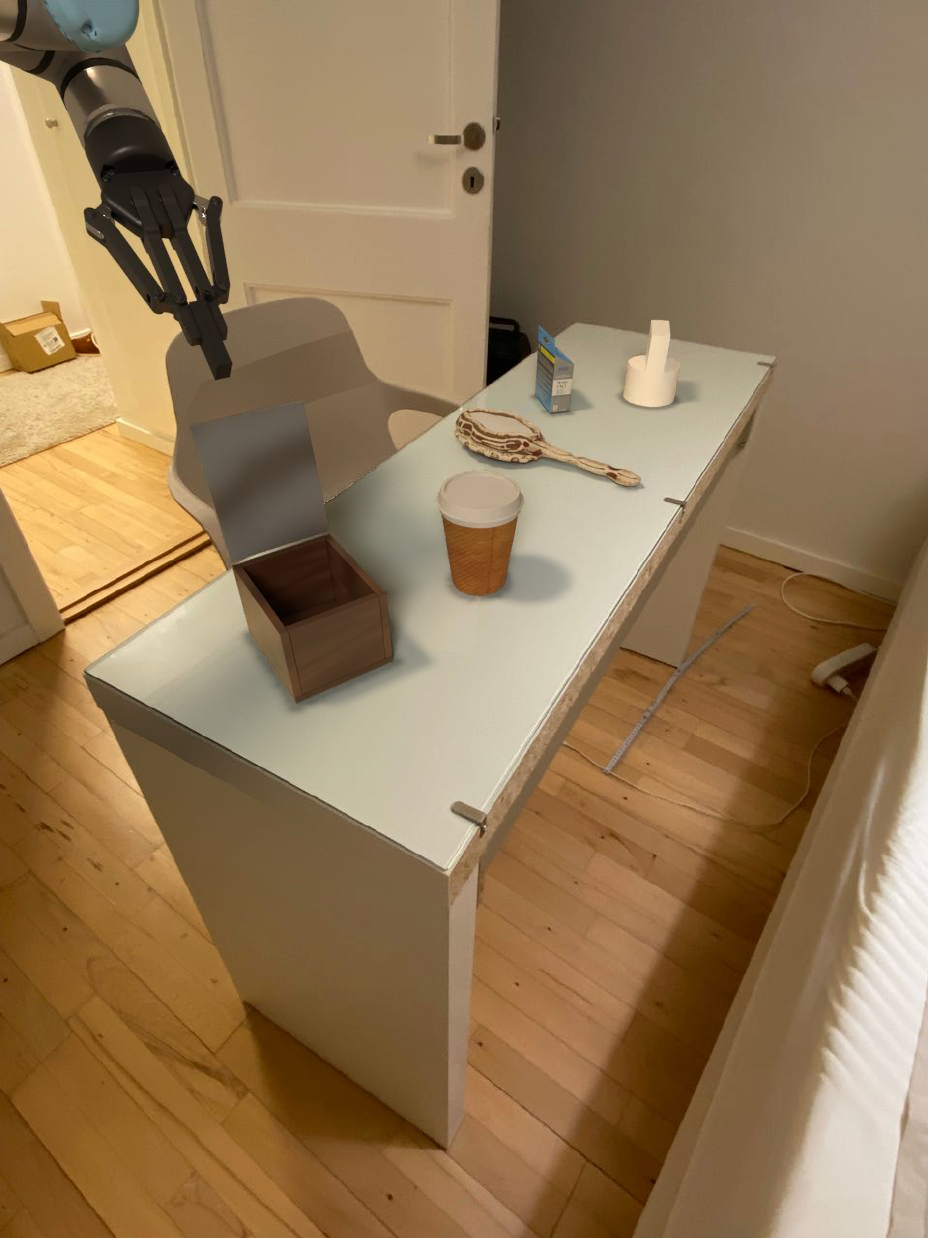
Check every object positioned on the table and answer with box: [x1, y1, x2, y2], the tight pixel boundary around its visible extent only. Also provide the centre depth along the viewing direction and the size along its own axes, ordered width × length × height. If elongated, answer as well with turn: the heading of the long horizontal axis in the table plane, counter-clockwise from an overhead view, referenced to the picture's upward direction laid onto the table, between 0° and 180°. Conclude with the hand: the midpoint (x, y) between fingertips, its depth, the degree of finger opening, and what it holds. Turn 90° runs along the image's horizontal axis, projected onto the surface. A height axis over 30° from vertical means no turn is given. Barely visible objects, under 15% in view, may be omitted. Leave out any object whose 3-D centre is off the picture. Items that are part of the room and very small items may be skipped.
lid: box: [188, 399, 331, 563], centre depth 66 cm, size 14×11×1 cm
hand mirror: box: [453, 406, 642, 487], centre depth 101 cm, size 11×6×30 cm
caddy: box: [231, 533, 394, 704], centre depth 69 cm, size 13×11×9 cm
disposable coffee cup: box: [435, 469, 525, 596], centre depth 77 cm, size 10×10×12 cm
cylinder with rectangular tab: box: [622, 319, 682, 408], centre depth 119 cm, size 9×9×12 cm
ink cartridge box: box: [534, 324, 575, 414], centre depth 117 cm, size 9×4×12 cm, turn 13°
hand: (223, 371), depth 65 cm, fingers closed
